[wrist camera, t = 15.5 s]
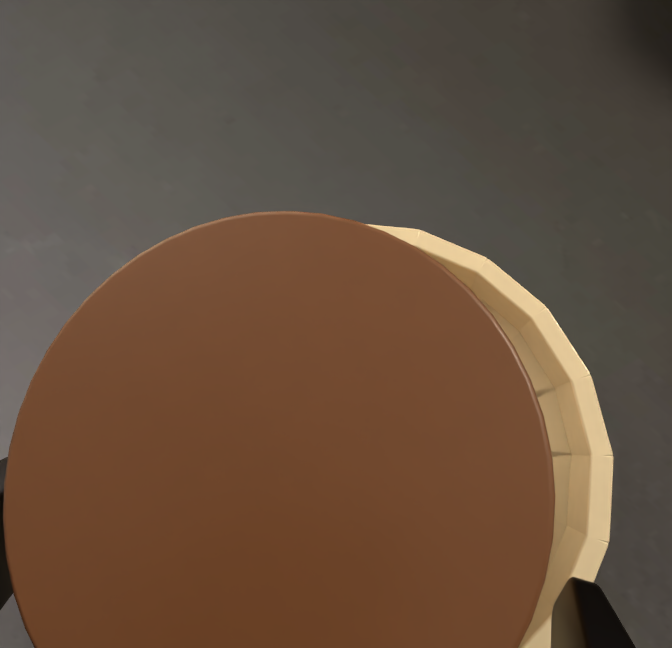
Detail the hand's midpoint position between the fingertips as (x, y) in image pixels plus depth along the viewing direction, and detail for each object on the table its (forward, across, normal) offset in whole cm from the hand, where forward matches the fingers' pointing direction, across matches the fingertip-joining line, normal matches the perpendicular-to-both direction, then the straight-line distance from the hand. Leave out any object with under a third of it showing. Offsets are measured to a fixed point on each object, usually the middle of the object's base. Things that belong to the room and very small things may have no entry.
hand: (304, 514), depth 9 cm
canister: (+7, 0, +6) cm, 9 cm away
